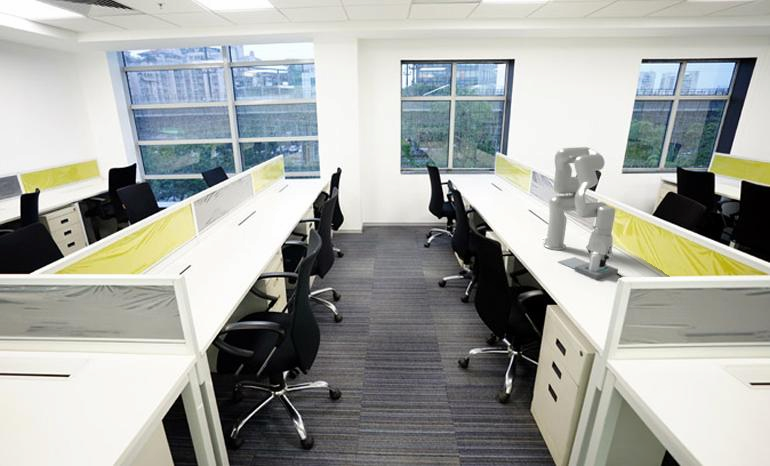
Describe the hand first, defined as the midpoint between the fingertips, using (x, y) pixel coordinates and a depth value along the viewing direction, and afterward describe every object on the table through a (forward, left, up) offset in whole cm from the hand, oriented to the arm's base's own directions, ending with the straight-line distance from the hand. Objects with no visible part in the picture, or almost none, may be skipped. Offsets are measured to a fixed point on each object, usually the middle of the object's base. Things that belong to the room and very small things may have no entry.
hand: (597, 264), depth 185 cm
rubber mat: (-13, 0, -4) cm, 14 cm away
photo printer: (0, 0, -5) cm, 5 cm away
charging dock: (0, 0, -4) cm, 4 cm away
